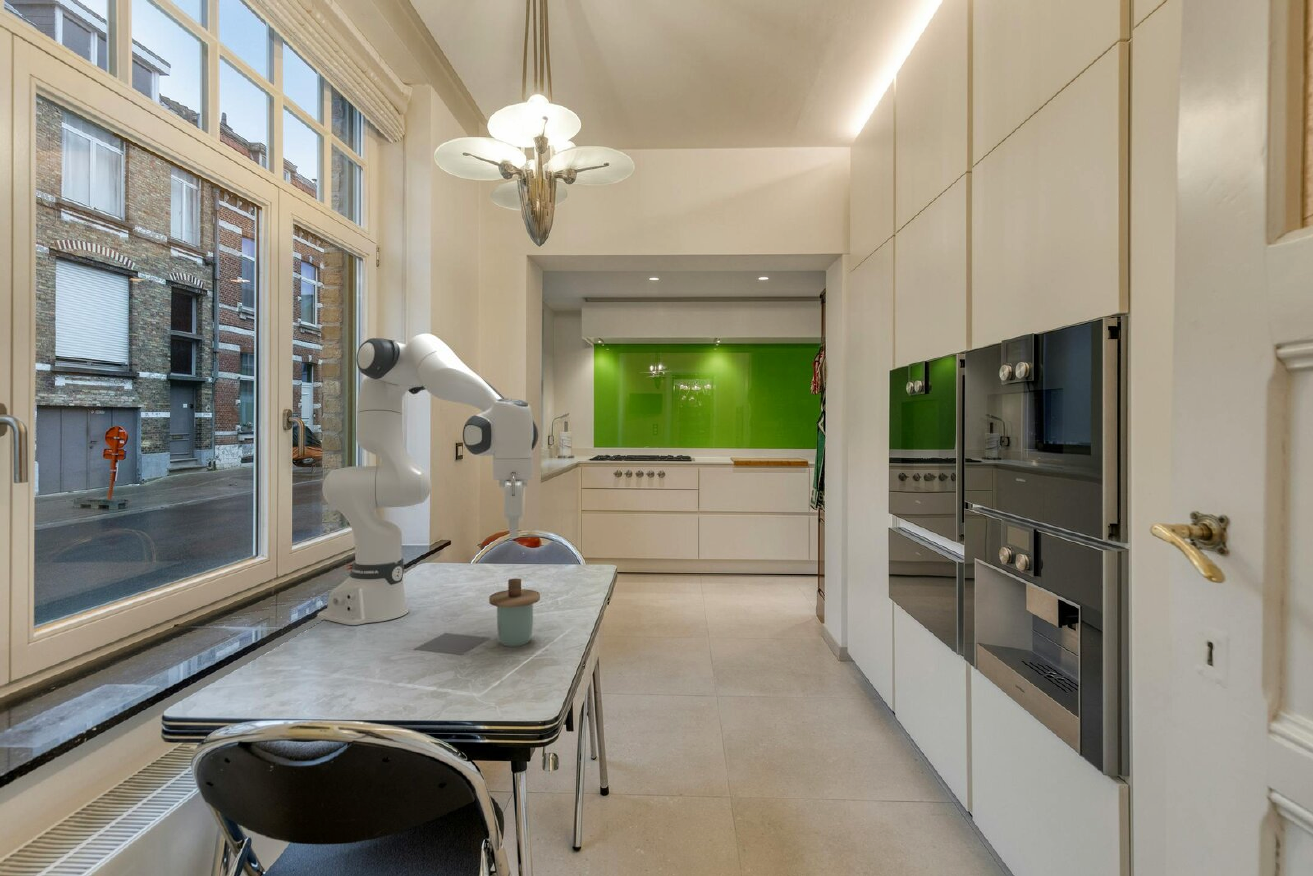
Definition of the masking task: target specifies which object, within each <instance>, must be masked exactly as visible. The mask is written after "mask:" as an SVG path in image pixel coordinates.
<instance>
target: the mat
mask: <svg viewBox="0 0 1313 876" xmlns="http://www.w3.org/2000/svg"><path fill="white" fill-rule="evenodd" d="M490 639H491V637H486V636H481V635H480V636H478V635H468V634H459V633H448V632H444V633H443V634H440V635H438V636H437V637H434V638H433V639H431V640H428V641H426V642H425V643H423V644H420V645H419V646H417V647H415V648H413V650H414V651H422V652H423V651H424V652H432V653H439V654H441V653H442V654H449V655H456V656H457V655H458V656H463V655H464V654H466V653H467V652H469V651H471V650H473V649H474V648H476V647H478V646H480V644H483V643H484V642H486V641H488V640H490Z"/></svg>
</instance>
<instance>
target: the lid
mask: <svg viewBox="0 0 1313 876" xmlns="http://www.w3.org/2000/svg"><path fill="white" fill-rule="evenodd" d="M507 581H508V582H507V586H508V589H507V590H500V591H498V592H497V591H496V592H494V593H493V594H491V595H489V597H488V603H489V604H490V605H491V606H494V607H497V606H498V607H519V606H526V605H530V604H533V605H534V604H535V603H538V602H540V601H541V593H540V592H539V591H537V590H534V589H525V588H524V589H522V579H521V578H509V579H508V580H507Z"/></svg>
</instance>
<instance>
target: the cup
mask: <svg viewBox="0 0 1313 876" xmlns="http://www.w3.org/2000/svg"><path fill="white" fill-rule="evenodd" d="M533 626H534V603H533V604H530V605H526V606H519V607H498V606H496V627H497V628H496V629H497V635H498V640H499V642H500V644H502V645H503V646H504V647H509V648H510V647H511V648H514V647H522V646H525V645H527V644H528V643H529V642H530V640H531V638H532V635H533V629H534V628H533Z"/></svg>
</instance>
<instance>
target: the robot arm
mask: <svg viewBox="0 0 1313 876" xmlns="http://www.w3.org/2000/svg"><path fill="white" fill-rule="evenodd" d="M356 365H357V368H358V370H359V372H360V373H361V374H362V375H364V376H365V378H364V379H363V380H362V382H361V385H360V389H359V393H358V400H357V406H356V407H357V408H356V430H355V431H356V432H355V433H356V436H355V438H356V439H355V440H356V443H357V444H358V445H359V447H360V448H361V449H363V450H365V451H366V452H368V453H370V454H372V455H375V456H378V457H379V458H380V460H381V464H380V465H369V466H368V465H365V466H363V465H361V466H360V465H359V466H356V465H355V466H346V467H341V468H336V469H332V470H331V471H329V473H328V474H327V475H326V476H325V477H324V480H323V482H322V488H321V489H322V496H323V497H324V500H325V502H326V503H327V504H328V505H329V506H330V507H332V508H334V509H335V510H336V511H338V512H339V513H341V514H342V515H343V516H344V518H345V519H346V520H347V522H348V523H349V526H350V527H351V531H352V533H353V541H354V555H355V556H354V557H355V558H354V559H355V561H354V562H353V563H352V564H348V565H346V567H347V568H346V571H349V570H350V573H349V577H347V578H346V579H345V580H344V581H343V582H342V583H340V584H339V585H338V586H336V587H335V588H334V589H333V590H332V591H330V594H329V596H328V600H327V608H325V609H323V610H322V611H319V612H318V613H317V615H316V618H317V619H322V620H325V621H330V622H334V623H339V624H342V625H346V626H347V625H349V626H357V625H362V624H368V623H369V624H370V623H379V622H385V621H389V620H394V619H397V618H401V617H403V616H405V615H407V613H408V614H409V611H410V609H409V607H408V602H407V598H406V594H405V593H406V592H405V586H404V585H405V584H404V579H403V578H404V577H403V576H404V572H405V566H404V565H405V563H404V561H405V560H404V558H402V557H403V551H402V550H403V549H402V548H403V545H402V544H403V543H402V540H403V538H402V537H403V534H402V531H401V529H400V528H399V525H396V523H395V524H394V523H393V522H391V521H389V520H386V519H383V518H381V516H379V514H378V513H377V509H381V508H402V507H403V508H407V507H410V506H415V505H420V504H422V503H424V502H425V501H426V500H427V499H428V497H429V496H430V493H431V490H432V480H431V477H430V475H429V473H428V472H427V471H426V469H424V468H423V467H421V466H420V465H419V464H418V463H416V462H415V461H414V460H413V458H411V456H410V454H409V453H408V450H407V448H406V446H405V441H404V433H403V398H404V396H405V394H406V393H407V392H408V393H410V394H412V395H416V394H418V393H420V392H421V391H426V392H428V393H430V394H431V395H432V396H433V397H435V398H437V399H439V400H443V401H448V402H452V403H457V404H464V405H467V406H471V407H474V408H476V409H478V410H480V411H481V413H478V414H475V415H472V416H470V417H469V418H468V419H467V421H466V422H465V424H464V425H463V430H462V440H463V444H464V446H465V448H466V449H467V450H468V452H469V453H471V454H472V455H474V456H475V455H476V456H480V457H481V456H482V457H483V456H488V457H489V456H490V457H491V456H492V479H493V480H494V481H498V487H499V488H503V494H504V495H503V497H504V499H503V500H504V502H503V503H504V505H503V507H504V508H503V509H504V517H505V519H508V528H509V529H508V530H509V532H508V533H509V537H510V538H517V537H518V536H519V522H520V519H521V518H522V517H523V508H524V507H523V496H524V490H525V489H524V488H525V487H528V486H529V480H533V479H535V478H534V477H535V476H534V471H535V470H534V468H535V466H534V454H533V453H534V452H533V450H534V449H535V447H536V446H537V443H538V440H539V430H538V426H537V424H536V422H535V421H534V419H533V413H532V408H531V405H530V404H529V403H527V402H526V401H524V400H522V399H513V398H505V397H504V396H503V395H502V394H501V393H500V392H499V391H498V390H497V389H496V388H495V387H493V385H492V384H490V383H489V382H488V381H487V380H485V379H484V378H482V377H480V376H479V375H478V374H477V373H475V372H474V371H473V370H472V369H470V368H469V367H468V366H467V365H466V364H465V363H464V362H463V361H462V360H461V359H460V358H459V357H458V356H457V355H456V353H455V352H454V351H453V350H452V349H451V348H450V347H449V346H448V345H447V343H445V342H444V341H443V340H442V339H440V338H438V337H437V336H436V335H433V334H431V333H420V334H417V335H415V336H413V337H412V338H411V339H410V340H409V341H408V343H401V342H398V341H396V340H394V339H387V338H384V337H383V338H381V337H380V338H379V337H372V338H368V339H366V340H365V341H364V342H363V343H361V345H360V346H359V348H358V349H357V353H356Z"/></svg>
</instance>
